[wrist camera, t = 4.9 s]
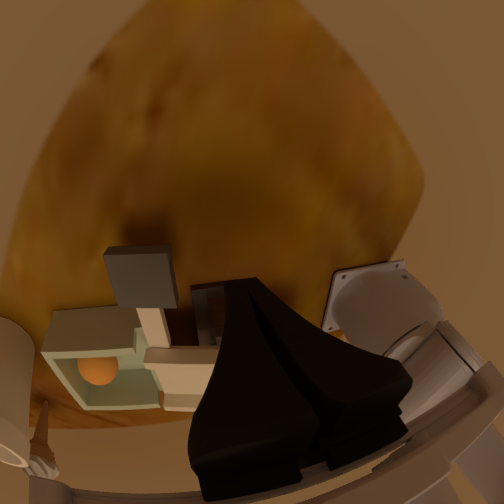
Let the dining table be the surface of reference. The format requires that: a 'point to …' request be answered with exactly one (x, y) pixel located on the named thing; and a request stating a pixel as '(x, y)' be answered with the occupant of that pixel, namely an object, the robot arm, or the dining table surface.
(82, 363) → the ball
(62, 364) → the cup
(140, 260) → the lever board
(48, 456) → the ice cream cone
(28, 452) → the foam cup
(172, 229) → the dining table surface
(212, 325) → the lever stand
